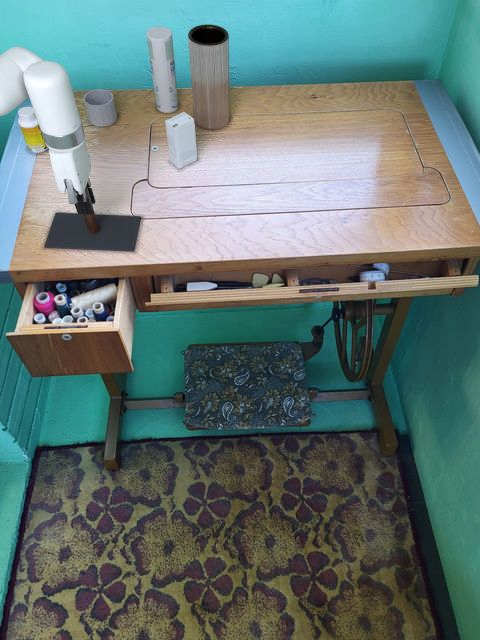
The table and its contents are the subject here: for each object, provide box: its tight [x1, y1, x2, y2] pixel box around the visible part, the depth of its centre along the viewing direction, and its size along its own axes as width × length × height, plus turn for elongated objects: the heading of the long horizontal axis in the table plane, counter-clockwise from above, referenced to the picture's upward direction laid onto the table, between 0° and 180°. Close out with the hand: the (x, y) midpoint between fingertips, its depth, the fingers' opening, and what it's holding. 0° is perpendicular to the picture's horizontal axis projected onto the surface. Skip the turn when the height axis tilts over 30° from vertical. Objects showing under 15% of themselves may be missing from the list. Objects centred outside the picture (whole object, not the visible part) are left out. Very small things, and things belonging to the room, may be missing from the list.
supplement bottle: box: [17, 106, 49, 154], centre depth 133 cm, size 6×6×10 cm
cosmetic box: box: [164, 111, 198, 170], centre depth 131 cm, size 6×4×12 cm
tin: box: [82, 88, 118, 128], centre depth 142 cm, size 8×8×6 cm
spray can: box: [145, 26, 179, 114], centre depth 141 cm, size 6×6×20 cm
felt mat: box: [43, 212, 142, 253], centre depth 121 cm, size 20×11×1 cm, turn 89°
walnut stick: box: [76, 186, 100, 234], centre depth 115 cm, size 3×3×12 cm
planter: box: [187, 23, 231, 130], centre depth 137 cm, size 10×10×23 cm
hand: (86, 207), depth 115 cm, fingers closed on walnut stick, 2 cm apart
